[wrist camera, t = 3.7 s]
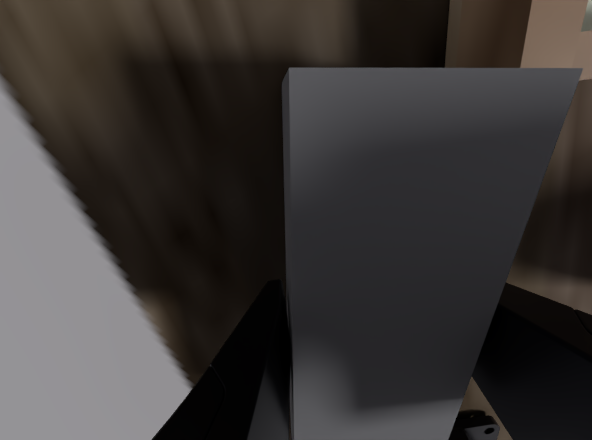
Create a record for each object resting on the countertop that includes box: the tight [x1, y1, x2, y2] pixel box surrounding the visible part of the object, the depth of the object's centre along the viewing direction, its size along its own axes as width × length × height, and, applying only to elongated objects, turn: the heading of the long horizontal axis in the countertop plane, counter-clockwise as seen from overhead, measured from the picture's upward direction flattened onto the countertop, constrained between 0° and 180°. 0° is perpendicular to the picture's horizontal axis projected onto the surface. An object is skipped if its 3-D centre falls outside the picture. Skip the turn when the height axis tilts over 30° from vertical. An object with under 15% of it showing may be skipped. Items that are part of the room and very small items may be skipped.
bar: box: [282, 68, 583, 440], centre depth 8 cm, size 11×4×4 cm, turn 0°
